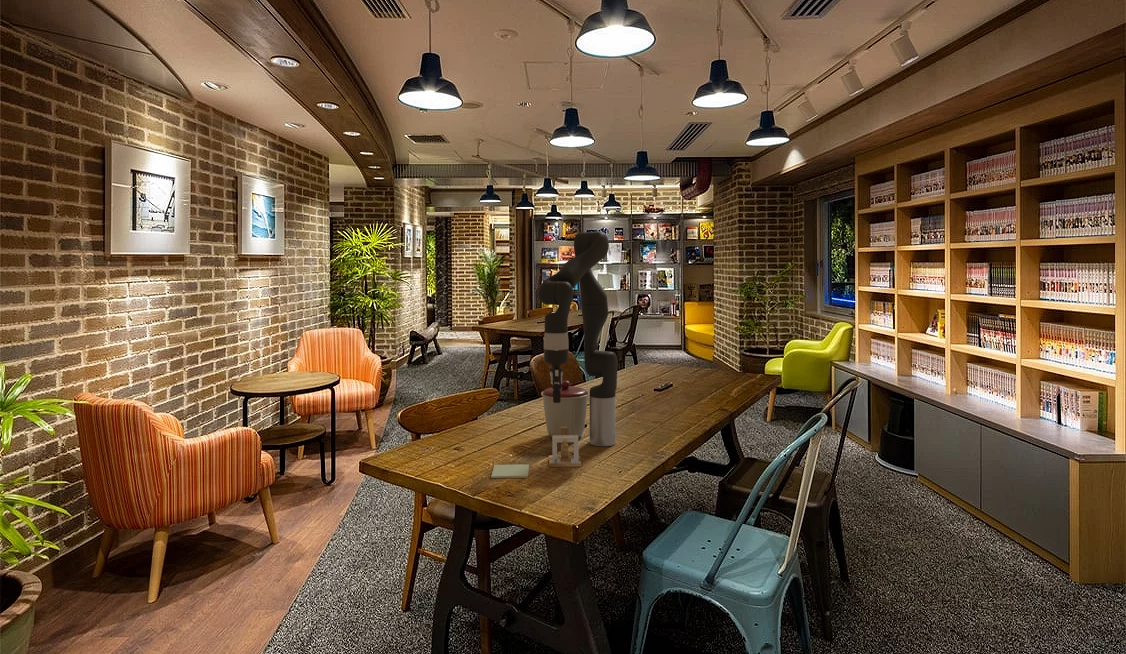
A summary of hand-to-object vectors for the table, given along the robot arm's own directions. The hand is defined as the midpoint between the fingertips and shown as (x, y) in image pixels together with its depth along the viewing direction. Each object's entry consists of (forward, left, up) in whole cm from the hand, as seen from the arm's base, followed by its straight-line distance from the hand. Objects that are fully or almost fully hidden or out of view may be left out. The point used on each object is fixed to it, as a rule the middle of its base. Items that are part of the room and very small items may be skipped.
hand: (556, 399), depth 196 cm
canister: (-41, +4, -23) cm, 47 cm away
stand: (-4, +3, -23) cm, 23 cm away
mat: (0, -14, -23) cm, 27 cm away
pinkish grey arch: (0, +3, -20) cm, 20 cm away
